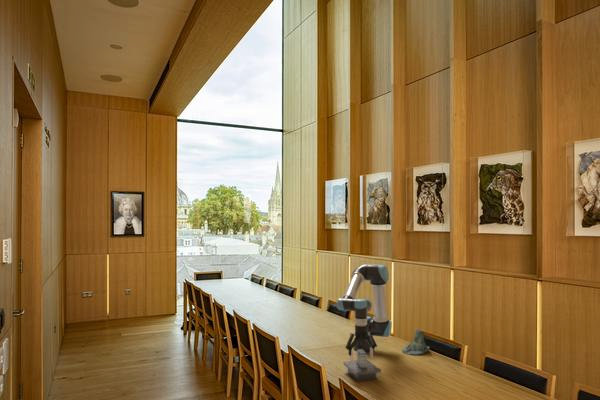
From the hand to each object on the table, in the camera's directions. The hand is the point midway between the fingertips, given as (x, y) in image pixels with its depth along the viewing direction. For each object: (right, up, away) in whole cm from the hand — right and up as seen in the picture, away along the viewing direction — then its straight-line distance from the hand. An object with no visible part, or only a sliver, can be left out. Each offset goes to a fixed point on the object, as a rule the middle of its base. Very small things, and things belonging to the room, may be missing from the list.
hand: (361, 359), depth 259 cm
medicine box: (0, -4, 0) cm, 4 cm away
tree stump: (+46, -12, +47) cm, 67 cm away
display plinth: (0, -10, -1) cm, 10 cm away
